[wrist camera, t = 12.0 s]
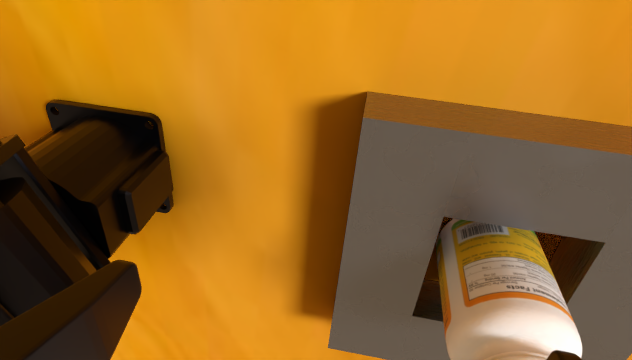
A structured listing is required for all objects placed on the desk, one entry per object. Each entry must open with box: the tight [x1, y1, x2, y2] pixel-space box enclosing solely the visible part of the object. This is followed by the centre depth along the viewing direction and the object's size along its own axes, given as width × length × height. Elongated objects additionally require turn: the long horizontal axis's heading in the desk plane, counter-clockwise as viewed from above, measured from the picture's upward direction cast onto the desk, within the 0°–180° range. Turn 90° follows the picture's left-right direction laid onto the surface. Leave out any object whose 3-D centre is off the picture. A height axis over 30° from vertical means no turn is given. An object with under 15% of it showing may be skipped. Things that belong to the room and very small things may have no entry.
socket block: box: [328, 92, 632, 360], centre depth 22 cm, size 16×16×3 cm
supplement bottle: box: [436, 218, 582, 360], centre depth 19 cm, size 5×5×10 cm
